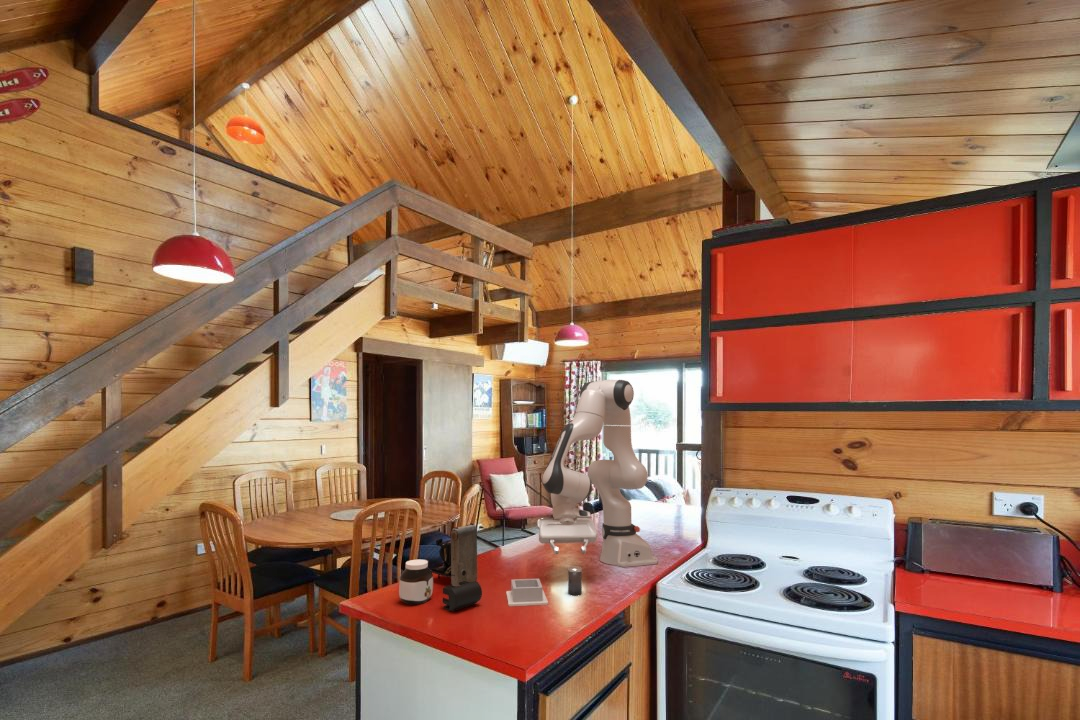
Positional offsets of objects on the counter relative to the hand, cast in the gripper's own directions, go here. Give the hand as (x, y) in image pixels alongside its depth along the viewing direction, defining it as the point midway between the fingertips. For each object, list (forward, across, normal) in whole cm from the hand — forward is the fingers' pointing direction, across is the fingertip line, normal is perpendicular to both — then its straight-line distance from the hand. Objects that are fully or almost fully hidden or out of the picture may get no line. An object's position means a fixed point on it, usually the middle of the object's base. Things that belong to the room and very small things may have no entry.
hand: (570, 552), depth 182 cm
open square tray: (+15, -16, +1) cm, 21 cm away
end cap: (+19, -36, -2) cm, 40 cm away
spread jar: (+12, -50, +5) cm, 52 cm away
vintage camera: (+2, -40, +15) cm, 42 cm away
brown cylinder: (+12, 0, +3) cm, 13 cm away
